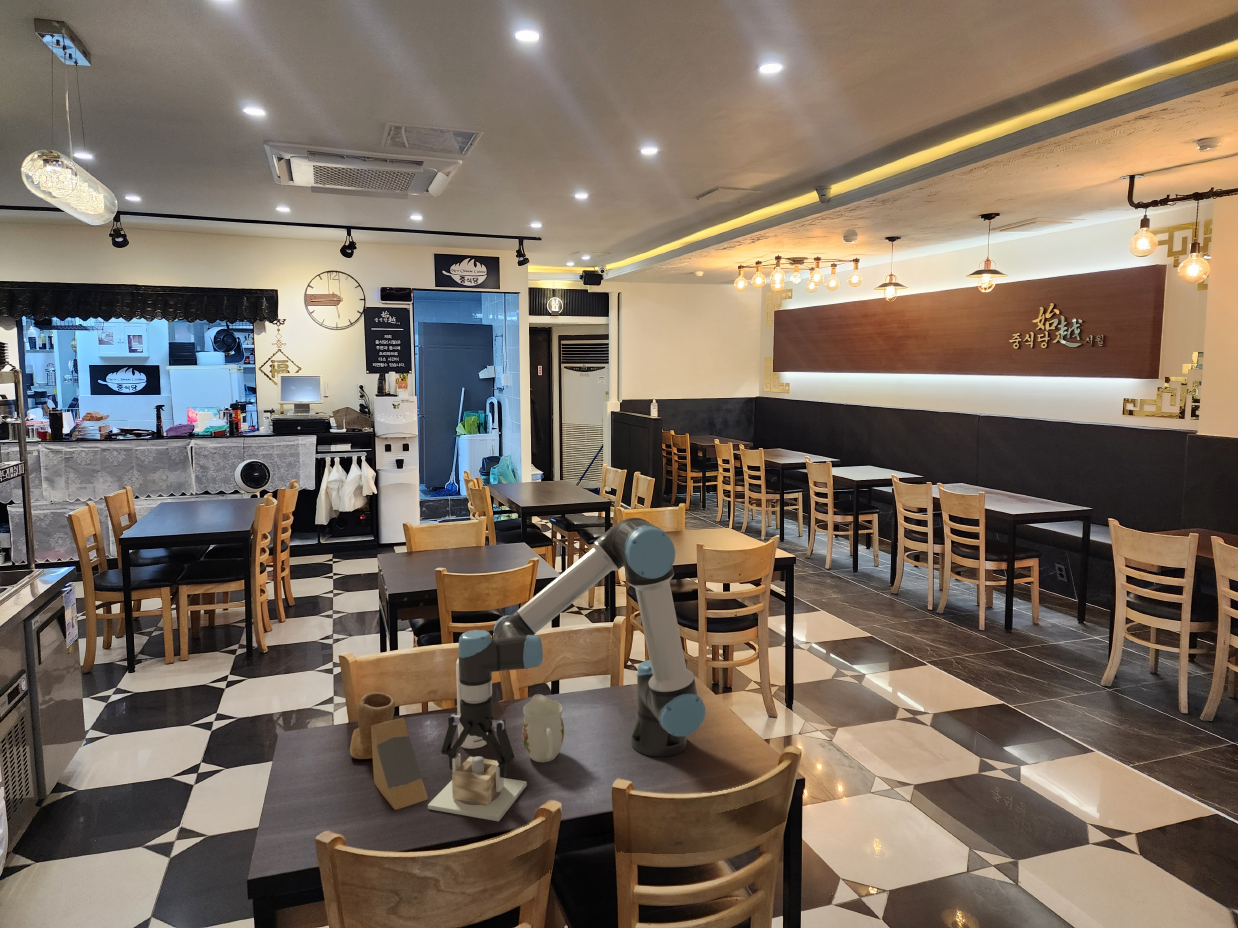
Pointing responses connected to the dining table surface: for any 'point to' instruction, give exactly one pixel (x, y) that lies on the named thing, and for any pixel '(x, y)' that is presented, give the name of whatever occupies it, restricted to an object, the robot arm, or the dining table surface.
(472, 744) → the bottle
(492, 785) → the collar
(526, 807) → the dining table surface
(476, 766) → the post stand
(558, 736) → the pitcher
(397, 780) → the sandwich container
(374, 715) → the tan boot
